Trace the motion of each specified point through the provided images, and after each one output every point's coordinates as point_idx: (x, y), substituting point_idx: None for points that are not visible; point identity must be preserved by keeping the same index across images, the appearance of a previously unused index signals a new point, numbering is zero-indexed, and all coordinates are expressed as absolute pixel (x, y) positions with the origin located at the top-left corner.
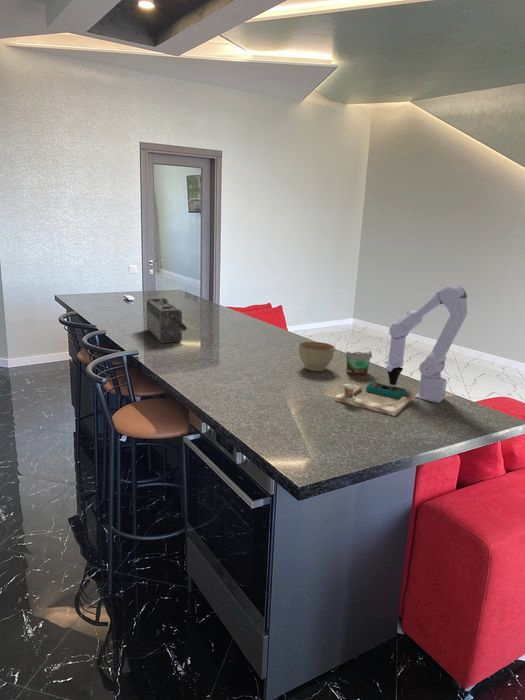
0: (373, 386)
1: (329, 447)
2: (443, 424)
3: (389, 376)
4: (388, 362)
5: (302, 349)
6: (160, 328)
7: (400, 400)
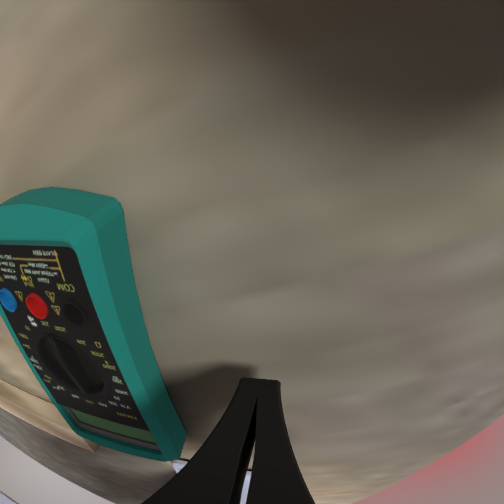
0: (4, 279)
1: None
2: (56, 461)
3: (198, 454)
4: None
5: None
6: None
7: (31, 415)
